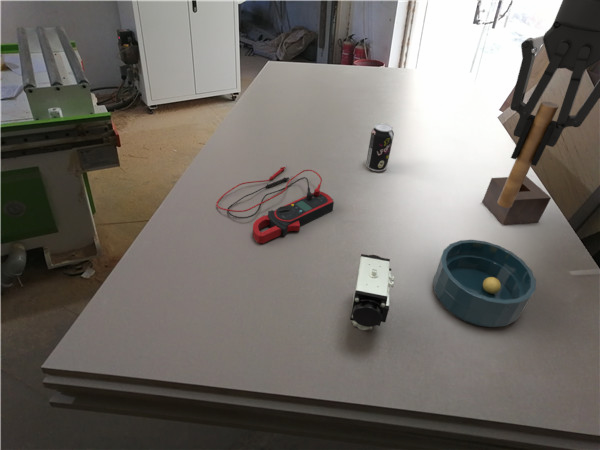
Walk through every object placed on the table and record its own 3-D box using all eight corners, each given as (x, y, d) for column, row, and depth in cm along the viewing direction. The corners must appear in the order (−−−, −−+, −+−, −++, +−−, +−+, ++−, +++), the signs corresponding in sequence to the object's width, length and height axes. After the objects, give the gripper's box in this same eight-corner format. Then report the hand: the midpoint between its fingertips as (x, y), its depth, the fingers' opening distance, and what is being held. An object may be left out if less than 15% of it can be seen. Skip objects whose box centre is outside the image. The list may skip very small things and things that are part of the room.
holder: (515, 200, 101) (526, 176, 97) (538, 222, 94) (551, 197, 90) (481, 202, 100) (491, 177, 95) (502, 225, 92) (513, 200, 88)
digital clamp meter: (351, 192, 92) (262, 234, 79) (349, 208, 95) (262, 251, 82) (287, 151, 106) (202, 181, 92) (287, 166, 108) (204, 197, 95)
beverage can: (390, 166, 111) (398, 126, 104) (381, 175, 107) (389, 133, 100) (371, 160, 113) (378, 120, 106) (361, 168, 110) (368, 127, 102)
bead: (492, 284, 76) (497, 272, 74) (500, 296, 74) (506, 284, 72) (477, 285, 75) (482, 274, 74) (485, 297, 73) (491, 286, 71)
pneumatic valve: (345, 345, 65) (355, 295, 57) (353, 292, 74) (363, 243, 66) (379, 353, 64) (394, 302, 57) (383, 298, 73) (396, 249, 66)
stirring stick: (506, 199, 72) (552, 101, 60) (514, 207, 70) (562, 107, 59) (494, 200, 71) (537, 101, 60) (501, 208, 69) (547, 107, 58)
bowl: (490, 263, 82) (503, 237, 78) (538, 325, 70) (556, 298, 66) (418, 269, 80) (427, 242, 75) (455, 335, 68) (468, 307, 63)
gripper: (529, -15, 51) (470, 151, 66) (676, 6, 45) (574, 185, 59) (541, -19, 56) (484, 136, 71) (675, -2, 49) (581, 166, 64)
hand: (525, 158), depth 65 cm, fingers closed on stirring stick, 2 cm apart
